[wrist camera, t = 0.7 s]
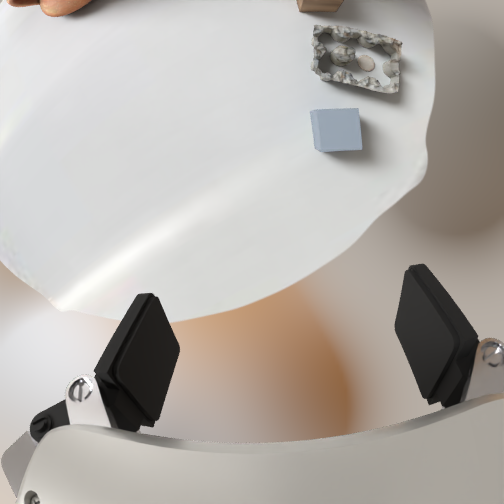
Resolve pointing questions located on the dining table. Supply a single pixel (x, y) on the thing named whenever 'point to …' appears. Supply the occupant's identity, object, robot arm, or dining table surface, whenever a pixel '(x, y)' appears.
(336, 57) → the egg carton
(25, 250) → the dining table surface
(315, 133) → the slate-blue block
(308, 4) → the walnut block
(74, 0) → the ceramic jug
